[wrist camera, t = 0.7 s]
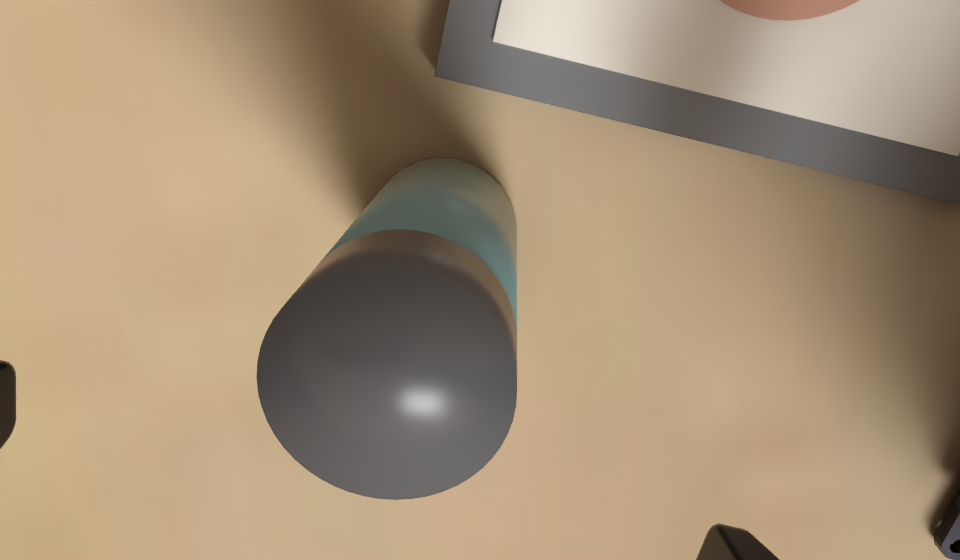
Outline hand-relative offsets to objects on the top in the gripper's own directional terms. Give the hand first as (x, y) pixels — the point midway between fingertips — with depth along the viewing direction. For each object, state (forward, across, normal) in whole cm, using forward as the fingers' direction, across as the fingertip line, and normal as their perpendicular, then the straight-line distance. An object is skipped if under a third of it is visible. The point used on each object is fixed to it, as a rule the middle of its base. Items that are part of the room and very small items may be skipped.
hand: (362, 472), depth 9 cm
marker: (+11, 0, 0) cm, 11 cm away
